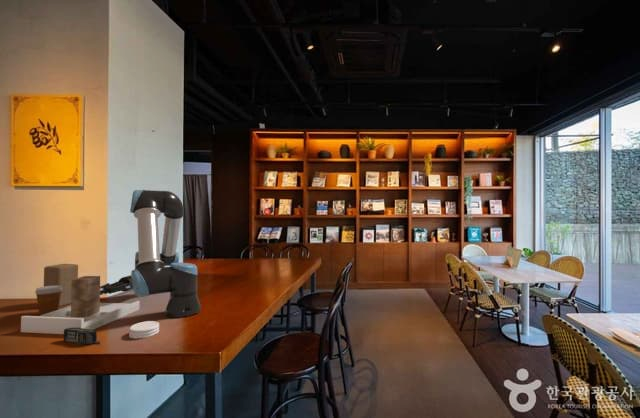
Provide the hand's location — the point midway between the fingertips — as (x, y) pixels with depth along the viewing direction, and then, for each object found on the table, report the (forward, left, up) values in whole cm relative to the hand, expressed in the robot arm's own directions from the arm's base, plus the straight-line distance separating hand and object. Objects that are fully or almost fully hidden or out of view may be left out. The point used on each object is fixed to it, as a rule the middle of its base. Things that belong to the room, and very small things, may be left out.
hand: (89, 294), depth 131 cm
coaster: (-37, +14, -10) cm, 41 cm away
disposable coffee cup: (+24, -3, -10) cm, 26 cm away
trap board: (-1, +2, -10) cm, 10 cm away
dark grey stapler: (-20, +24, -10) cm, 33 cm away
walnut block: (-2, +4, -7) cm, 8 cm away
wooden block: (+32, -16, -10) cm, 37 cm away
